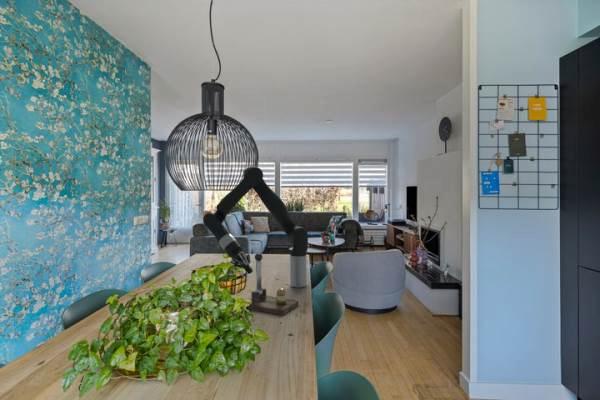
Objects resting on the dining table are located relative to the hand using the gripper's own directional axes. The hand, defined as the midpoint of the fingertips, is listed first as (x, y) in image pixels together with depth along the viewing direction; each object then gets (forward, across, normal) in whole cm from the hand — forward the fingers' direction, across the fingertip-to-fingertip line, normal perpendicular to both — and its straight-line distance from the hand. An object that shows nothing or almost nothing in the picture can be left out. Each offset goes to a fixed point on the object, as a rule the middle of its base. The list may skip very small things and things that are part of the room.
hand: (251, 272), depth 147 cm
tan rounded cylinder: (+20, 0, -3) cm, 21 cm away
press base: (+18, 0, +3) cm, 18 cm away
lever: (+10, 0, +4) cm, 11 cm away
